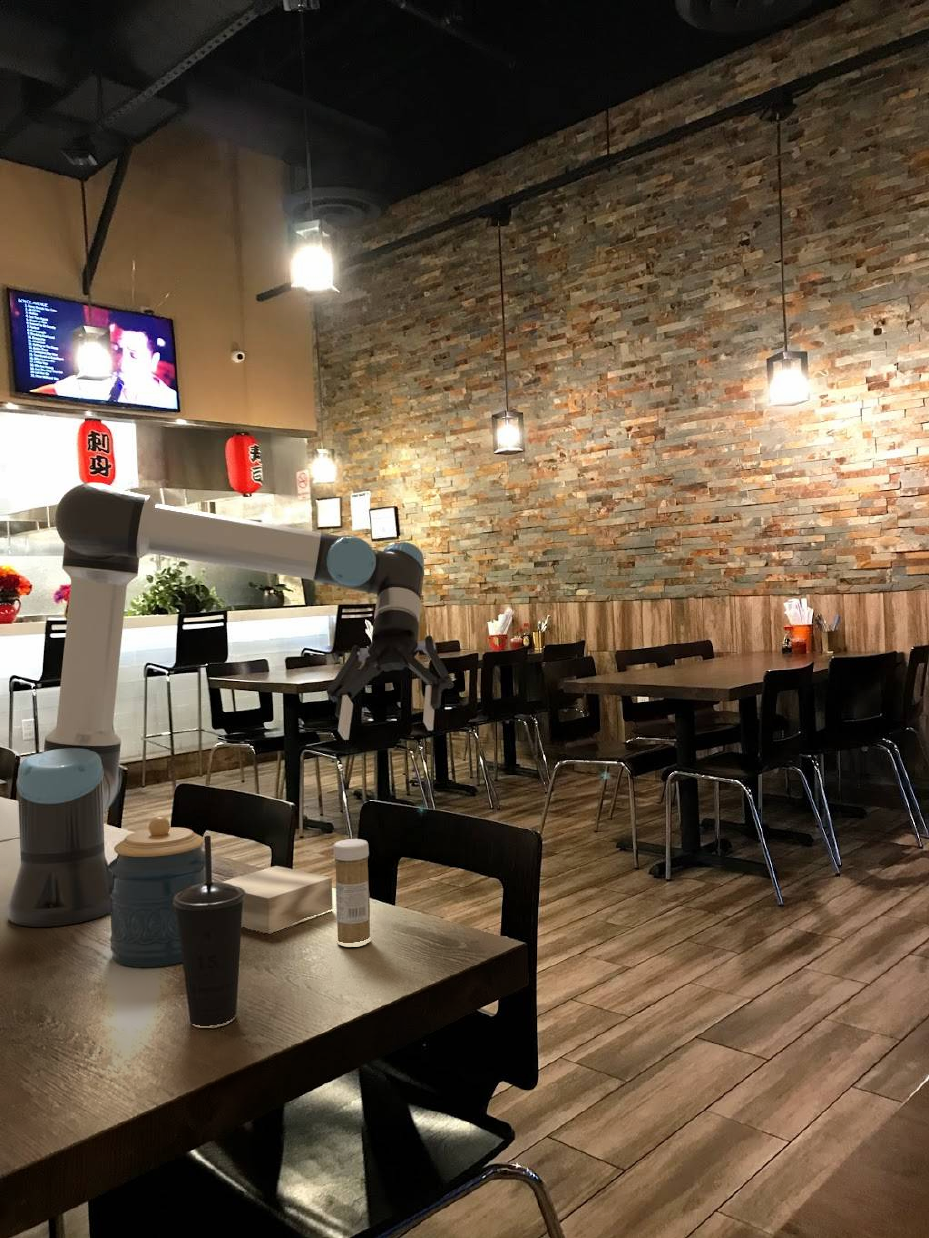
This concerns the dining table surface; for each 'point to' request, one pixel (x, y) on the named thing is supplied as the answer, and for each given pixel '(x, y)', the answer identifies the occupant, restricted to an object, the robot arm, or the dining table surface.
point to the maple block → (282, 897)
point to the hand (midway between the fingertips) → (385, 730)
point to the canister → (152, 892)
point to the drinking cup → (210, 946)
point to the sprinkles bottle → (352, 890)
